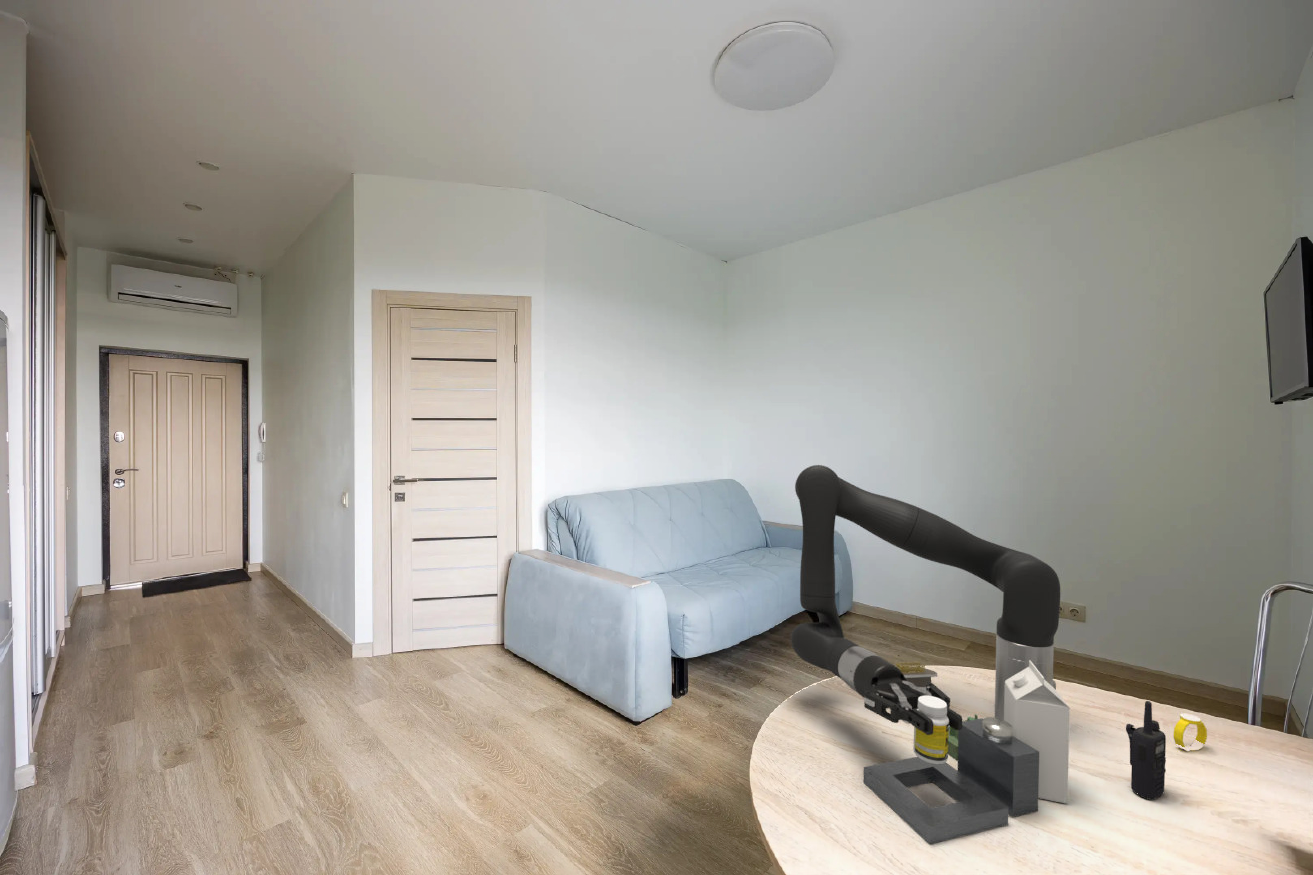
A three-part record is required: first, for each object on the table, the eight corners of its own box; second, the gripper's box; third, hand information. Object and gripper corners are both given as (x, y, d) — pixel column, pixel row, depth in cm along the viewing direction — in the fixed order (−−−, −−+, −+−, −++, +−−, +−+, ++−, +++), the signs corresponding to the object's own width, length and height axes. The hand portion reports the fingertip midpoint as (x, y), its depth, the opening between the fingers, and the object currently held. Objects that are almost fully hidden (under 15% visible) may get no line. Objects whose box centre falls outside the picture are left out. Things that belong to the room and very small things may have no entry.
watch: (1186, 756, 99) (1185, 723, 99) (1169, 747, 102) (1168, 715, 101) (1212, 750, 100) (1211, 718, 100) (1194, 742, 103) (1193, 710, 103)
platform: (859, 683, 126) (859, 654, 126) (932, 680, 129) (933, 651, 128) (887, 709, 115) (887, 677, 114) (967, 705, 117) (968, 674, 117)
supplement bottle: (951, 767, 82) (954, 711, 82) (917, 762, 83) (919, 707, 83) (942, 748, 87) (944, 695, 87) (909, 744, 88) (911, 692, 88)
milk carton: (1052, 778, 92) (1054, 663, 91) (1067, 805, 85) (1070, 681, 85) (1002, 768, 94) (1004, 657, 94) (1014, 794, 87) (1016, 674, 87)
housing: (966, 761, 96) (967, 698, 96) (1044, 815, 82) (1046, 741, 82) (863, 782, 90) (864, 714, 89) (929, 844, 76) (931, 764, 76)
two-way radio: (1152, 804, 85) (1154, 707, 85) (1117, 787, 89) (1119, 694, 89) (1168, 793, 88) (1171, 699, 88) (1134, 778, 92) (1136, 687, 92)
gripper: (836, 658, 96) (907, 707, 80) (904, 650, 101) (984, 695, 84) (834, 701, 97) (905, 758, 80) (902, 691, 101) (982, 744, 84)
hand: (945, 725), depth 82 cm, fingers closed on supplement bottle, 4 cm apart
